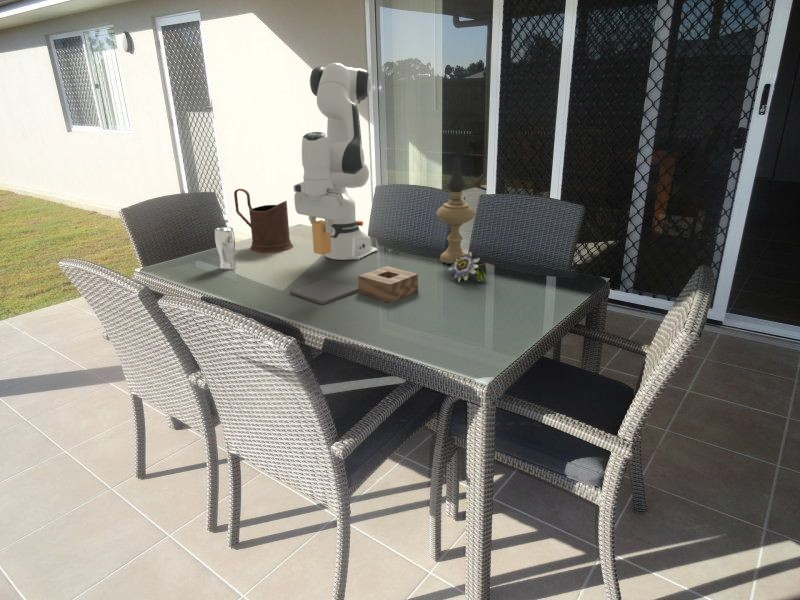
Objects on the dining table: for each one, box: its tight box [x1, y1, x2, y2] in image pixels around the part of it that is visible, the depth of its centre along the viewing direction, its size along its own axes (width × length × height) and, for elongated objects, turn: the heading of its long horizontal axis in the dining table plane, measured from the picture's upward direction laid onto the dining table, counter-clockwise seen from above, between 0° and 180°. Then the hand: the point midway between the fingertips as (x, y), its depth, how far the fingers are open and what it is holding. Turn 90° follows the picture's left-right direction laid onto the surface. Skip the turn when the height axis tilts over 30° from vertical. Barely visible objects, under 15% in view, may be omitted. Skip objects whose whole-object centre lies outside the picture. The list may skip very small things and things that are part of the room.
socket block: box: [357, 265, 419, 303], centre depth 177 cm, size 14×14×6 cm
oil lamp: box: [435, 156, 476, 263], centre depth 205 cm, size 15×15×40 cm
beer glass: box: [214, 226, 237, 271], centre depth 203 cm, size 7×7×15 cm
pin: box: [311, 219, 331, 256], centre depth 172 cm, size 4×4×10 cm
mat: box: [289, 278, 359, 306], centre depth 178 cm, size 16×16×1 cm
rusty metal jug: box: [233, 188, 294, 254], centre depth 229 cm, size 18×24×25 cm
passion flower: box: [447, 251, 488, 282], centre depth 189 cm, size 11×11×12 cm
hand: (321, 231), depth 171 cm, fingers closed on pin, 4 cm apart
